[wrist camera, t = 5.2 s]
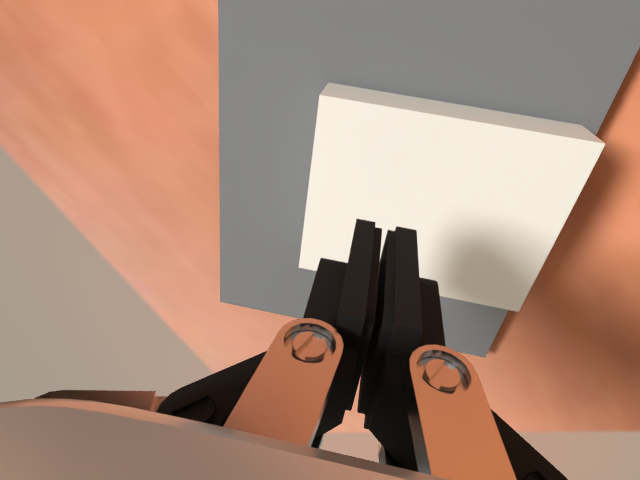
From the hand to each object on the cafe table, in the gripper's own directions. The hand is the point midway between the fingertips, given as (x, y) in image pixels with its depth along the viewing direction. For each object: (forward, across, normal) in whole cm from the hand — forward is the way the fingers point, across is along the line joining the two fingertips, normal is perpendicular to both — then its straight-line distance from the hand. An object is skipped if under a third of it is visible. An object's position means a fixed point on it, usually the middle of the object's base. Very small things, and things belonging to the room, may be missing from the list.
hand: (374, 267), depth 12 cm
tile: (+5, +3, 0) cm, 6 cm away
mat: (+7, 0, 0) cm, 7 cm away
